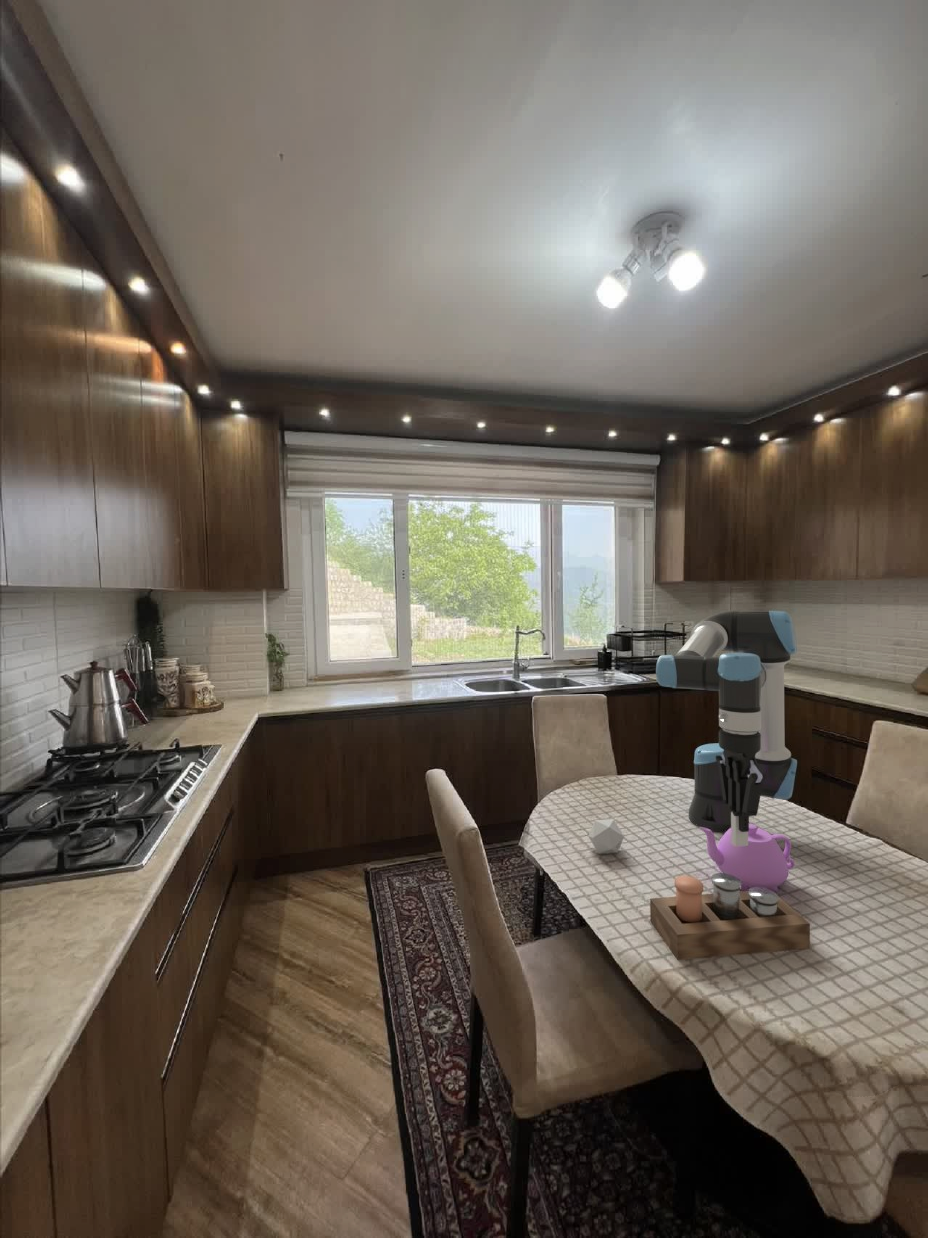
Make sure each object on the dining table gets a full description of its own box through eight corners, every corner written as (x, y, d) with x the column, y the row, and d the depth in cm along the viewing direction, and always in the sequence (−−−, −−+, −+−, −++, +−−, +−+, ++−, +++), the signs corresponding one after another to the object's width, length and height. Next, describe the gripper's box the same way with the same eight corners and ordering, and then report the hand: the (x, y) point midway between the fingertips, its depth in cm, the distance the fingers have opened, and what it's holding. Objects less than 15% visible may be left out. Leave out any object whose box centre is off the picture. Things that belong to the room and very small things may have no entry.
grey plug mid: (731, 903, 110) (731, 872, 110) (747, 919, 105) (747, 886, 105) (706, 905, 110) (706, 874, 110) (721, 921, 105) (721, 888, 104)
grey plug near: (767, 917, 111) (767, 886, 111) (784, 933, 106) (784, 900, 105) (742, 919, 111) (742, 887, 110) (759, 935, 105) (759, 902, 105)
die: (617, 864, 137) (633, 829, 140) (586, 846, 139) (602, 811, 141) (609, 860, 145) (623, 827, 148) (580, 843, 147) (595, 810, 149)
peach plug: (694, 906, 110) (694, 875, 109) (708, 922, 104) (708, 889, 104) (670, 908, 109) (669, 876, 109) (682, 924, 104) (682, 891, 104)
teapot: (712, 899, 120) (712, 840, 119) (688, 864, 135) (687, 812, 135) (812, 900, 118) (812, 841, 118) (776, 864, 134) (776, 812, 133)
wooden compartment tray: (769, 911, 115) (769, 889, 114) (809, 948, 103) (809, 923, 103) (650, 921, 113) (650, 898, 112) (677, 960, 101) (677, 934, 100)
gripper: (703, 723, 112) (704, 831, 113) (742, 739, 99) (742, 861, 100) (736, 721, 113) (736, 829, 114) (779, 737, 100) (779, 858, 101)
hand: (739, 844), depth 107 cm, fingers closed
